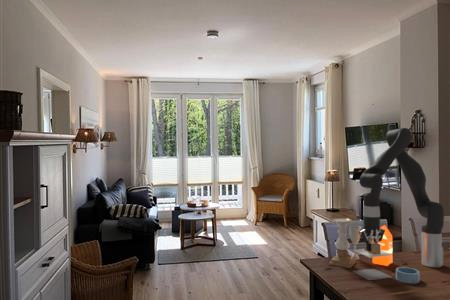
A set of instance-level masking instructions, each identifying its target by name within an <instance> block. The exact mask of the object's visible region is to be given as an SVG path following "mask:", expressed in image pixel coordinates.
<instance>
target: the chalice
mask: <svg viewBox="0 0 450 300" xmlns="http://www.w3.org/2000/svg"><path fill="white" fill-rule="evenodd" d="M348 228H349V229H348V230H349V234H348V235H349V239H350V240H351V242H352V244H353V254H351V257H352V258H354V260H355V261H359V260H361V259H360V256H359V255H358V254H357V252H355V251H354V250H355V249H357V244H358V243H359V242H360V239H361V237H360V234H359V231H362V230H361V229H362V226H361V225H354V224H353V225H348Z"/></svg>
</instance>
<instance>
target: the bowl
mask: <svg viewBox="0 0 450 300" xmlns="http://www.w3.org/2000/svg"><path fill="white" fill-rule="evenodd" d="M420 277H421V272H420V270H418V269H416V268H412V267H408V266H398V267H396V268H395V279H396V280H397V281H398V282H400V283H405V284H415V285H416V284H419V283H420V282H421V278H420Z"/></svg>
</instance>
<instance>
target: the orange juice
mask: <svg viewBox="0 0 450 300" xmlns="http://www.w3.org/2000/svg"><path fill="white" fill-rule="evenodd" d="M380 228H381V229H384V230H385V232H384V235H383V238H382V241H379V242H378V244H380V248H381V250H383V251H385V252H388V253H391V254H392V255H389V256H381V257H374V258H372V264H375V265H380V266H385V267H388V266H390V264H393V262H394V261H393V259H394V258H393V235H392V233H391V232H390V230H389V229H388V228H387V226H386V224H384V225H382V226H380ZM371 241H373V237H372V239H371ZM373 242H374V241H373Z"/></svg>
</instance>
